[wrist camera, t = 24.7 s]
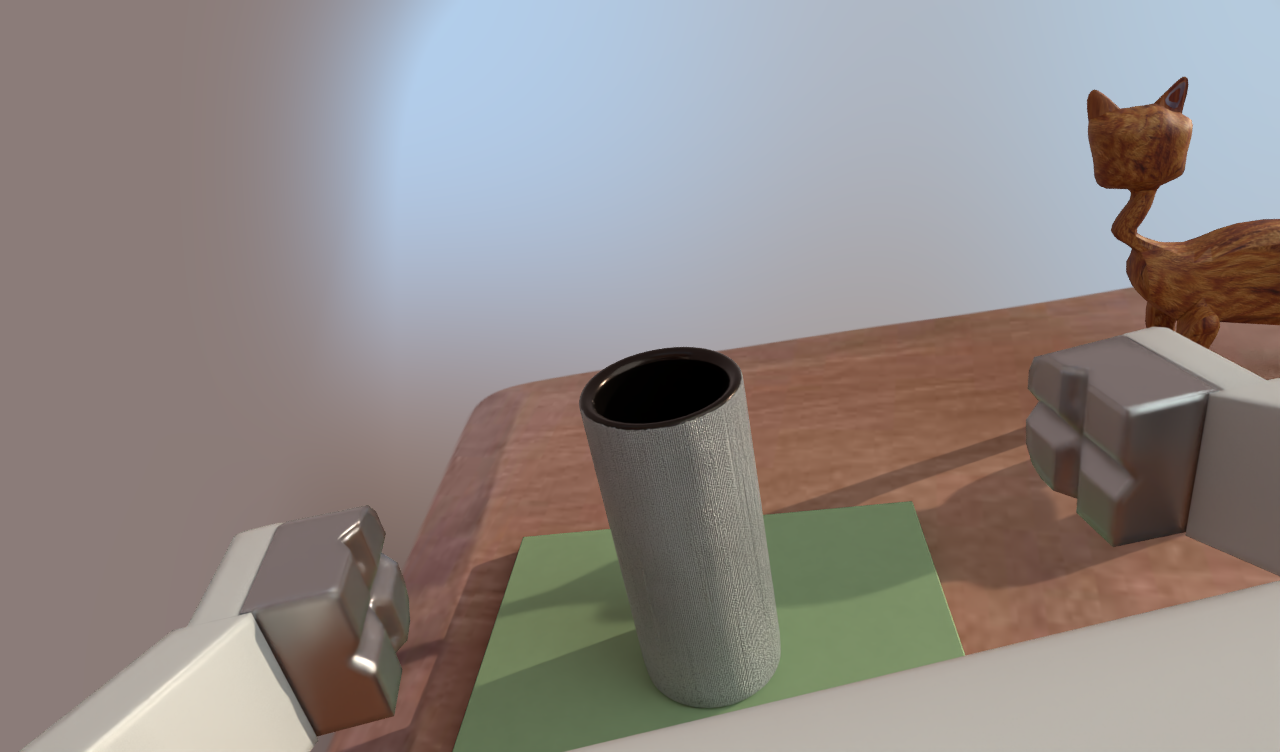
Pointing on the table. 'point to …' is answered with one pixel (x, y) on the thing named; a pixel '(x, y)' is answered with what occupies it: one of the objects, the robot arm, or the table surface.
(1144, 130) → the cat figurine
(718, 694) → the planter
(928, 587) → the sage mat
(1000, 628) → the table surface
